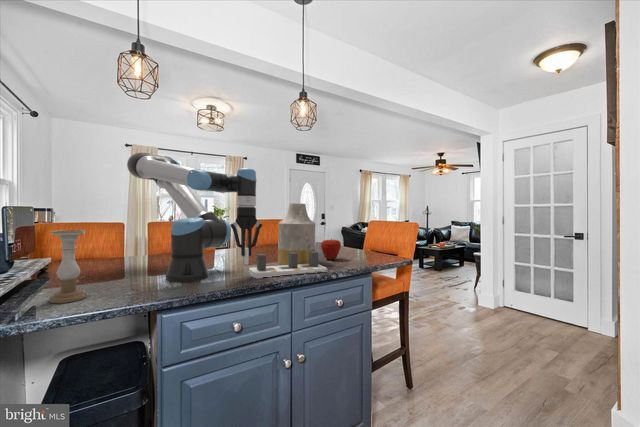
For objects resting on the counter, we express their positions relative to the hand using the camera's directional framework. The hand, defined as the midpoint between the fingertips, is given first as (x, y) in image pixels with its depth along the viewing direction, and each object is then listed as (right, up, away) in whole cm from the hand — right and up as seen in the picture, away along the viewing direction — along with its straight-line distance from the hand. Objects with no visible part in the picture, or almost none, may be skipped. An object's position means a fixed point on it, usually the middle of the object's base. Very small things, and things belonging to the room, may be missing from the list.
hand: (246, 264), depth 122 cm
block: (+6, -3, +3) cm, 7 cm away
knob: (+28, -3, +13) cm, 30 cm away
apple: (+36, -5, +41) cm, 55 cm away
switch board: (+16, -5, +8) cm, 19 cm away
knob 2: (+18, -3, +9) cm, 20 cm away
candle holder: (-45, -5, -33) cm, 56 cm away
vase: (+18, -5, +27) cm, 33 cm away
